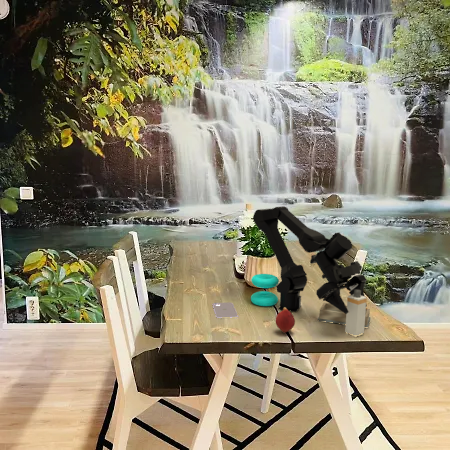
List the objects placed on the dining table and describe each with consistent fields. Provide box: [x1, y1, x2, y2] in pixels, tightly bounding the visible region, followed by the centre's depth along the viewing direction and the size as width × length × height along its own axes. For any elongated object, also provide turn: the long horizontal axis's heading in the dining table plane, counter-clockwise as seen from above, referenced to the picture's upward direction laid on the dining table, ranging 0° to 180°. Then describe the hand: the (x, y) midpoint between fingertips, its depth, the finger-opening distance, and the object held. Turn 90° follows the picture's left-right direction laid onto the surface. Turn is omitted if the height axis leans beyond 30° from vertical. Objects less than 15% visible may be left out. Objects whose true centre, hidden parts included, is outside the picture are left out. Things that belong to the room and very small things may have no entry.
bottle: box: [344, 289, 368, 335], centre depth 139 cm, size 4×4×14 cm
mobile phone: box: [212, 302, 239, 319], centre depth 158 cm, size 8×1×15 cm
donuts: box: [250, 273, 280, 307], centre depth 167 cm, size 10×10×10 cm
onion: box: [275, 308, 296, 334], centre depth 140 cm, size 6×6×8 cm
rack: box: [317, 302, 371, 328], centre depth 151 cm, size 16×9×4 cm, turn 68°
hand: (356, 310), depth 139 cm, fingers open, 9 cm apart
